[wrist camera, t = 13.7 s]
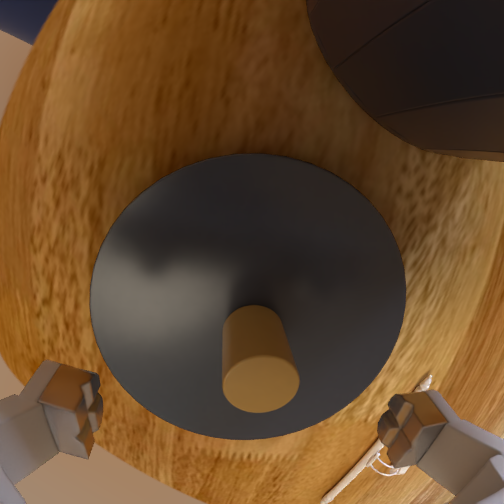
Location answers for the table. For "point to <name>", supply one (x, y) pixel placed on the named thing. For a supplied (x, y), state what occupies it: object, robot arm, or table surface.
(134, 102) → the table surface
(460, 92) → the tin
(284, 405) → the tin lid
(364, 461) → the picture light
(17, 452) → the robot arm
